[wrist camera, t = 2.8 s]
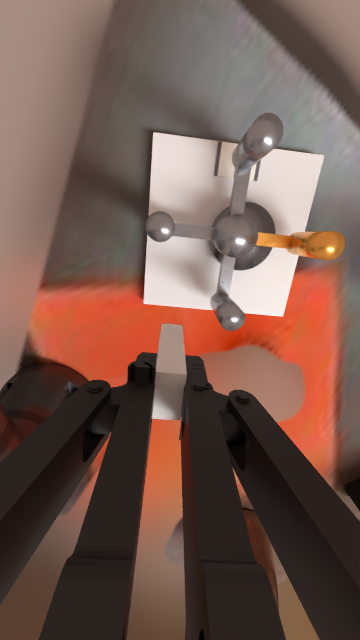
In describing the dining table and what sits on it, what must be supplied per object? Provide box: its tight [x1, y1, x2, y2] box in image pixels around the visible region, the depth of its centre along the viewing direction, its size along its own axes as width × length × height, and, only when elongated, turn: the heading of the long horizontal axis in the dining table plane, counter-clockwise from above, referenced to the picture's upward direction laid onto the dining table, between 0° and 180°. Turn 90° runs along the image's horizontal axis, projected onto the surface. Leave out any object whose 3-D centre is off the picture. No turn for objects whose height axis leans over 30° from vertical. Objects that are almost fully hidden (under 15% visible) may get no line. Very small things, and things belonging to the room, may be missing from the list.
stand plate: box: [144, 132, 324, 317], centre depth 32 cm, size 20×20×2 cm
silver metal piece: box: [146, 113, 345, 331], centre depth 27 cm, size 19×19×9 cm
